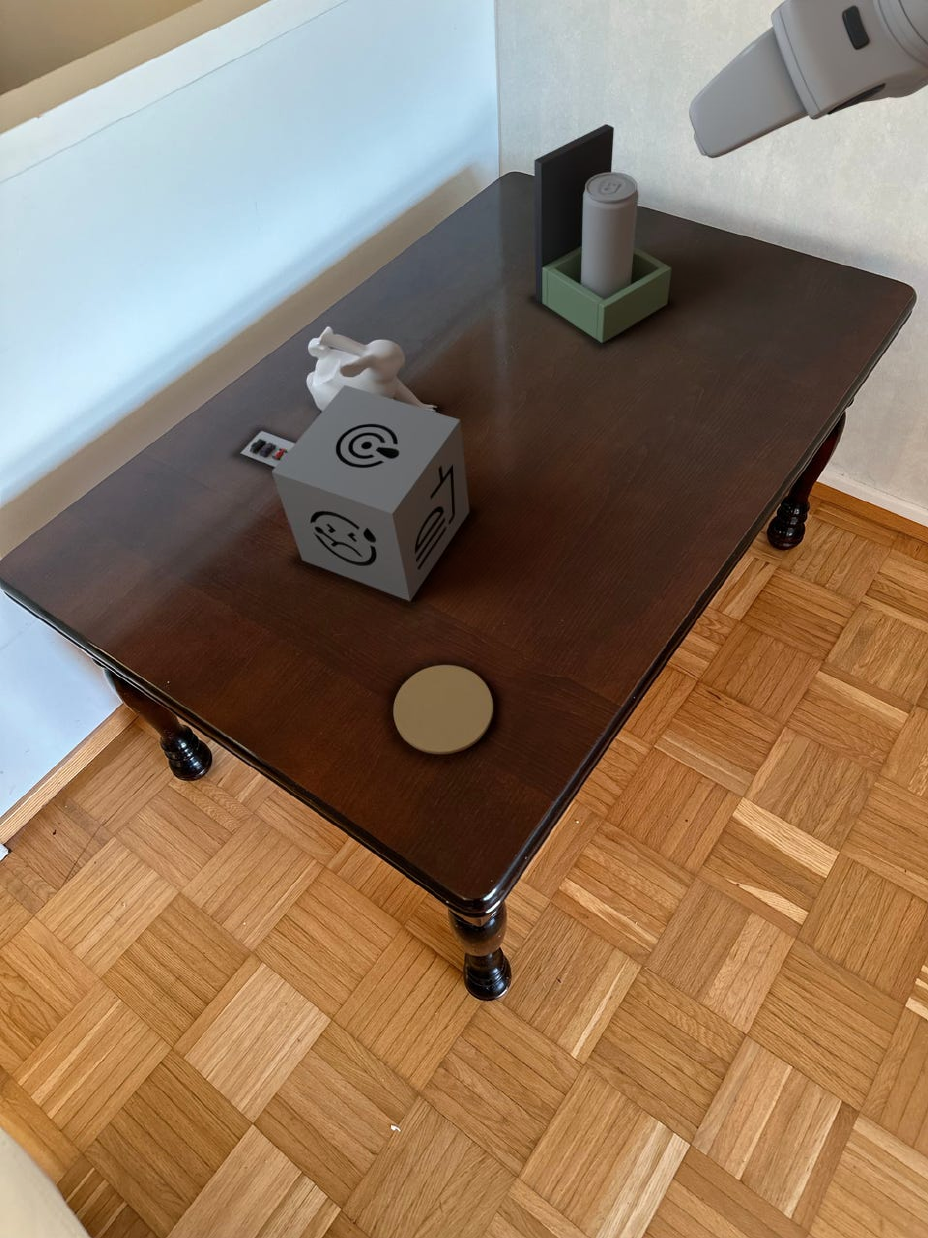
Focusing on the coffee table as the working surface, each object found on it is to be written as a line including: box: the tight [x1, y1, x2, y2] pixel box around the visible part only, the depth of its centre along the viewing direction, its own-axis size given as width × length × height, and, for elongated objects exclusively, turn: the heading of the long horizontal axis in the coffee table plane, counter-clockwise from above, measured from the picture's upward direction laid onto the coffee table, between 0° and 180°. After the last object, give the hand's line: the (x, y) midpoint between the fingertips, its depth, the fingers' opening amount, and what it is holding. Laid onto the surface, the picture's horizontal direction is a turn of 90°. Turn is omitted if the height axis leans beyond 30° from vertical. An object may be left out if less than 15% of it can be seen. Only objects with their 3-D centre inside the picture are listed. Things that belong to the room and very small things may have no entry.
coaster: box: [393, 664, 494, 755], centre depth 64 cm, size 7×7×1 cm
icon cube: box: [271, 385, 470, 602], centre depth 69 cm, size 10×10×10 cm
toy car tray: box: [240, 430, 296, 468], centre depth 79 cm, size 3×8×1 cm, turn 60°
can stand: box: [533, 123, 672, 344], centre depth 83 cm, size 10×9×14 cm
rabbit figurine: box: [306, 326, 438, 413], centre depth 78 cm, size 12×8×10 cm, turn 62°
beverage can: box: [581, 171, 639, 300], centre depth 84 cm, size 5×5×12 cm
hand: (751, 119), depth 66 cm, fingers open, 8 cm apart
